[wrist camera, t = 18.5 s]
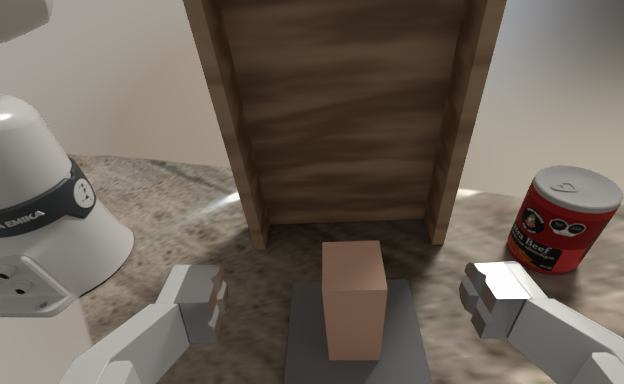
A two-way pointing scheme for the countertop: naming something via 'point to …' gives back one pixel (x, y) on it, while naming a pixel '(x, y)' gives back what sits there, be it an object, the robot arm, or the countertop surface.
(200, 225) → the countertop surface
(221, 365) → the countertop surface
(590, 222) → the canned food
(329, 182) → the shelf
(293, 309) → the mat
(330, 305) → the block
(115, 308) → the countertop surface
